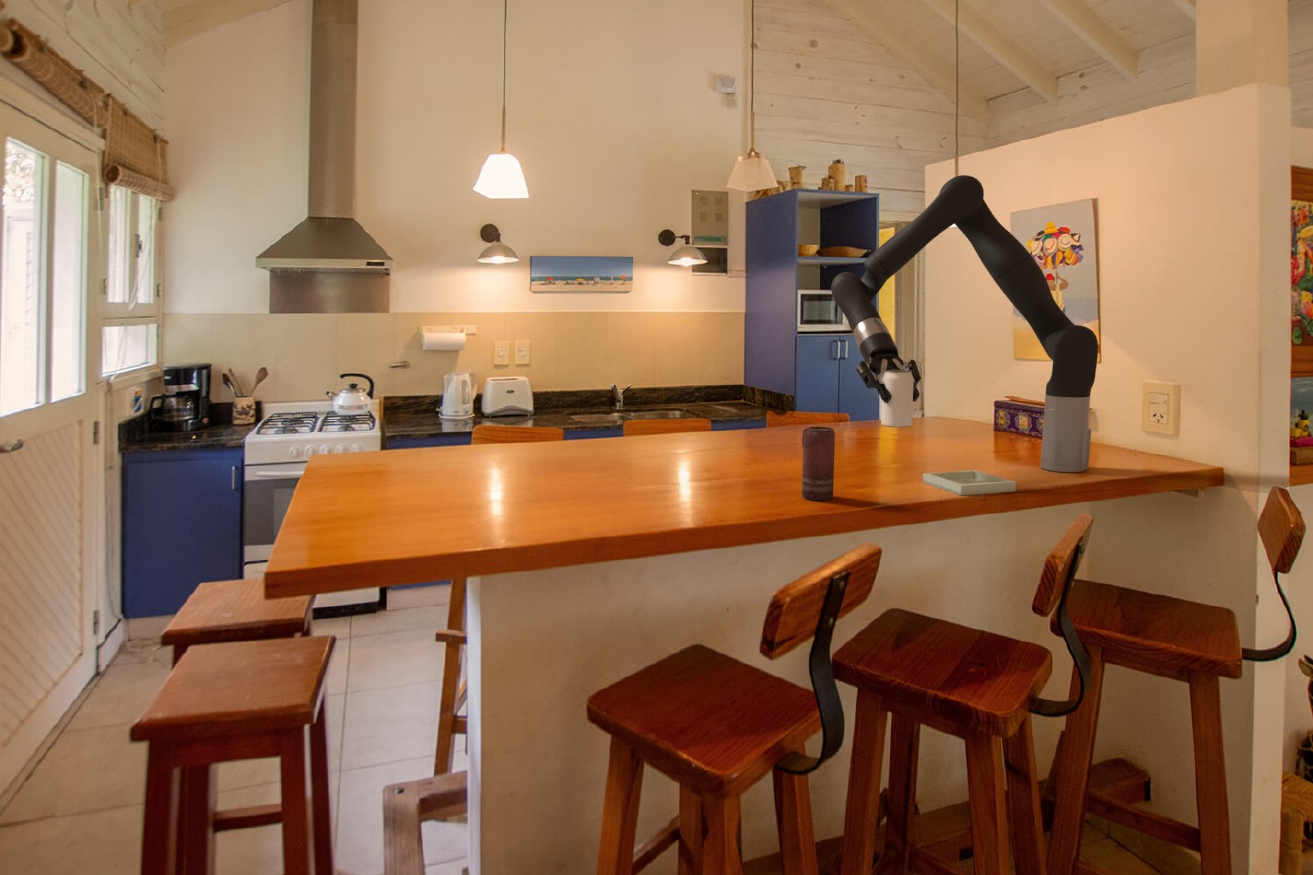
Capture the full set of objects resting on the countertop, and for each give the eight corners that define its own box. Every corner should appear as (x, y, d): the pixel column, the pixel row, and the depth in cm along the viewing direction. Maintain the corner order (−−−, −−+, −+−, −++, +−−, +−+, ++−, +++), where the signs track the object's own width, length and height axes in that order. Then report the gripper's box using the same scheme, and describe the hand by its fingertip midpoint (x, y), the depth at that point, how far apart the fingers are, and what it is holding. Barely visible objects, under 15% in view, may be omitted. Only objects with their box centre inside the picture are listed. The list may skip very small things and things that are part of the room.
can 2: (908, 423, 181) (910, 369, 179) (914, 427, 175) (916, 371, 173) (878, 423, 182) (880, 369, 180) (883, 427, 175) (885, 372, 173)
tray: (974, 478, 179) (975, 470, 179) (1015, 491, 167) (1016, 481, 166) (922, 482, 176) (923, 473, 175) (960, 495, 163) (961, 485, 163)
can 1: (797, 494, 164) (798, 426, 162) (828, 494, 165) (829, 425, 163) (805, 501, 158) (806, 430, 156) (837, 501, 159) (839, 430, 157)
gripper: (852, 331, 180) (879, 390, 171) (909, 330, 184) (939, 387, 175) (840, 354, 186) (865, 412, 177) (896, 352, 190) (923, 409, 180)
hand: (902, 399), depth 176 cm, fingers closed on can 2, 6 cm apart
